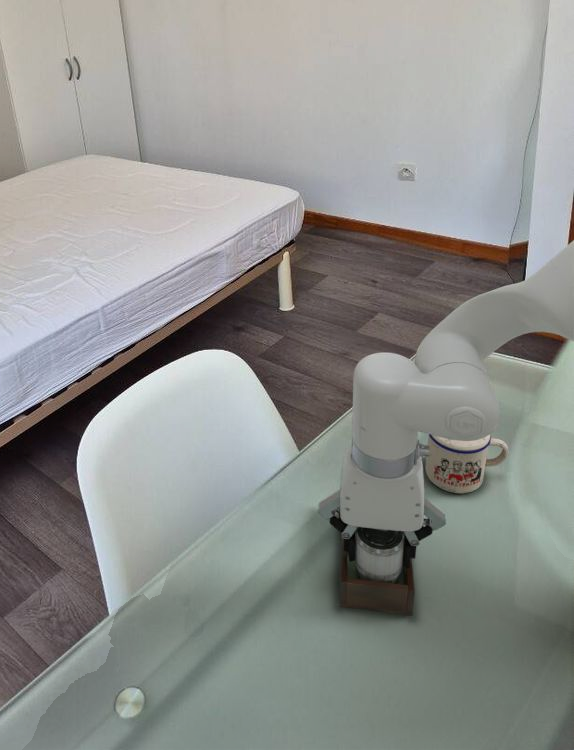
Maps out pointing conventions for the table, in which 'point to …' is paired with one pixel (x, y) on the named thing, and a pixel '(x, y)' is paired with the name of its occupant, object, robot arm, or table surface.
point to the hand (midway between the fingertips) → (378, 555)
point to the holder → (375, 589)
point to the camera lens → (379, 554)
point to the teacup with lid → (460, 462)
